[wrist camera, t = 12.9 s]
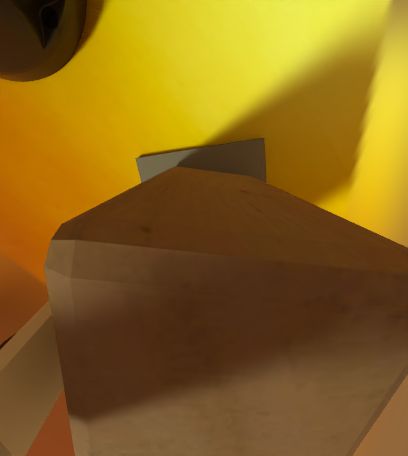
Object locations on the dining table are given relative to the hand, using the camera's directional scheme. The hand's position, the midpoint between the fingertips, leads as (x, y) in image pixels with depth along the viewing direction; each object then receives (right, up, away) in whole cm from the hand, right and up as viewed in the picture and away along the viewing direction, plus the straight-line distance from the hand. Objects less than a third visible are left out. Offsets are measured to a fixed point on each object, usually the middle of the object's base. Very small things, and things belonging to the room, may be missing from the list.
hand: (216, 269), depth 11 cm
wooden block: (0, +4, +13) cm, 14 cm away
